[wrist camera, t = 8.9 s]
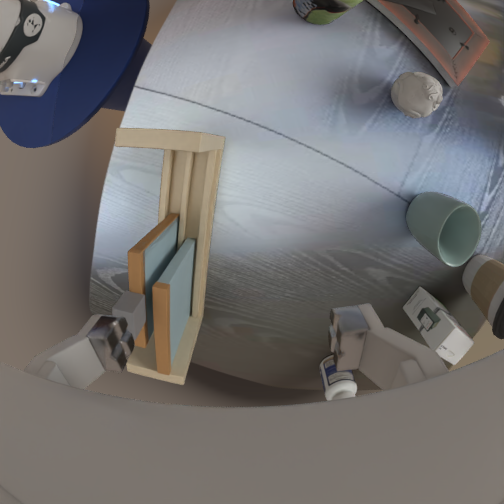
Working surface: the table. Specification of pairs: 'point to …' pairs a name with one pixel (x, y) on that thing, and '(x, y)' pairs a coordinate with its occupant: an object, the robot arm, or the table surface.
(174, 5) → the table surface
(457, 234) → the cup
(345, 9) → the beverage can
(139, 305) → the window pane
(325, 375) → the pill bottle
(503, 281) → the coffee cup
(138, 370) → the window frame
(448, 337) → the ink box
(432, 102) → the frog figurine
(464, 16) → the picture frame
